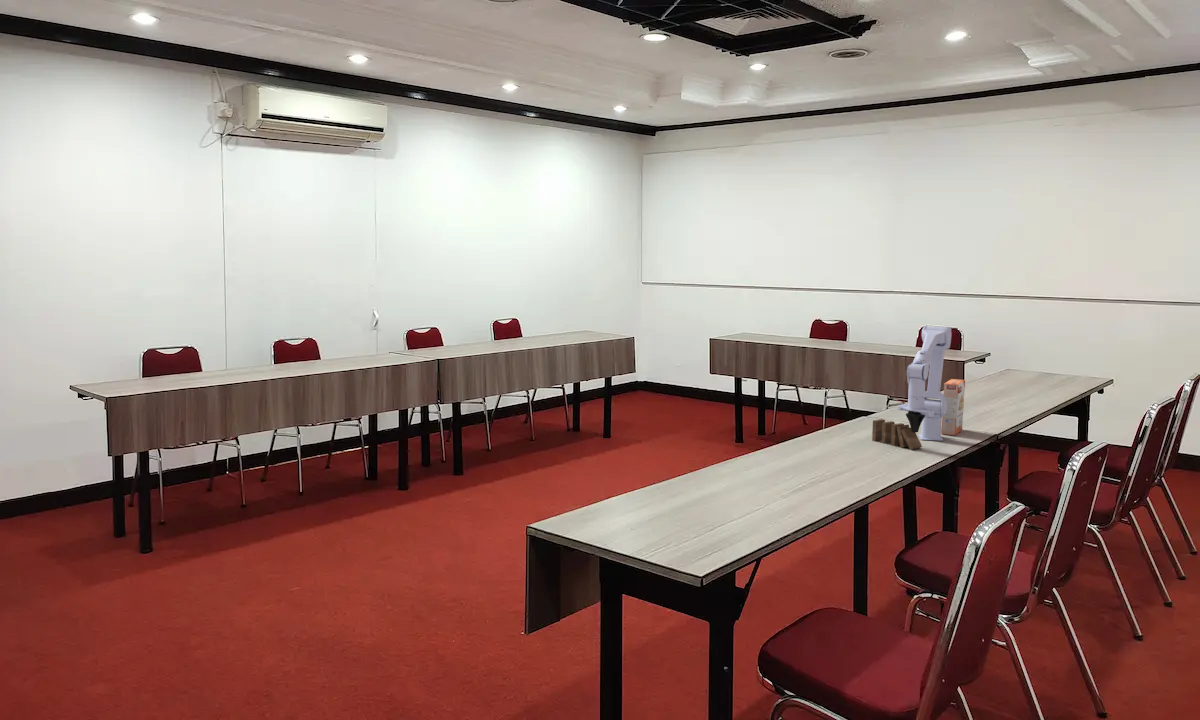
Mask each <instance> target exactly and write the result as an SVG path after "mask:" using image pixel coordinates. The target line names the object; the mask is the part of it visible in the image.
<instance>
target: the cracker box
mask: <svg viewBox="0 0 1200 720" xmlns="http://www.w3.org/2000/svg"><path fill="white" fill-rule="evenodd" d="M965 392H966V380H965V379H956V378H950V379H949V380H948V381H946V382H944V383H943V395H945V396H946V398H947V411H946V414H945V415H944V416H943V417H942V422H941V435H944V436H945V435H946V436H947V435H948V436H957V435H958V434H959V433H961V431H962V430H963V421H964V408H965V407H964V405H965Z"/></svg>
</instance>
